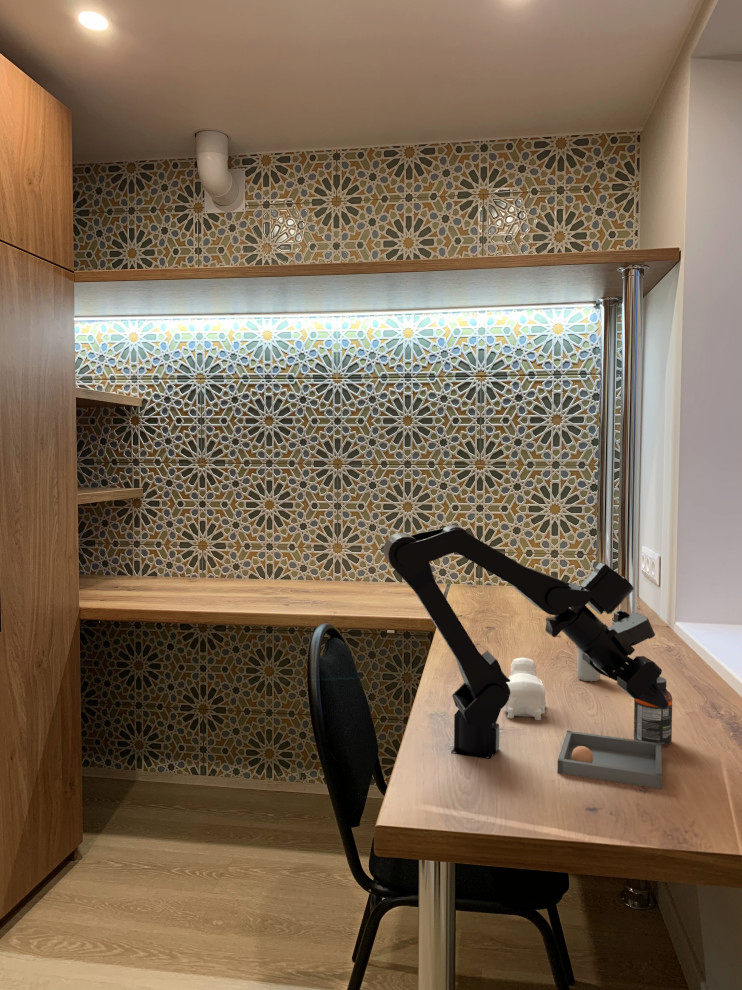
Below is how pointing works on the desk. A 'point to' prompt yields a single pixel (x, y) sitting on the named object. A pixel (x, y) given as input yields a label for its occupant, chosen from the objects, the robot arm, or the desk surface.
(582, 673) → the beverage can
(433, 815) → the desk surface
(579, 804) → the desk surface
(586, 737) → the tray
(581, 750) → the ball
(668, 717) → the supplement bottle
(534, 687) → the white low-poly figurine
